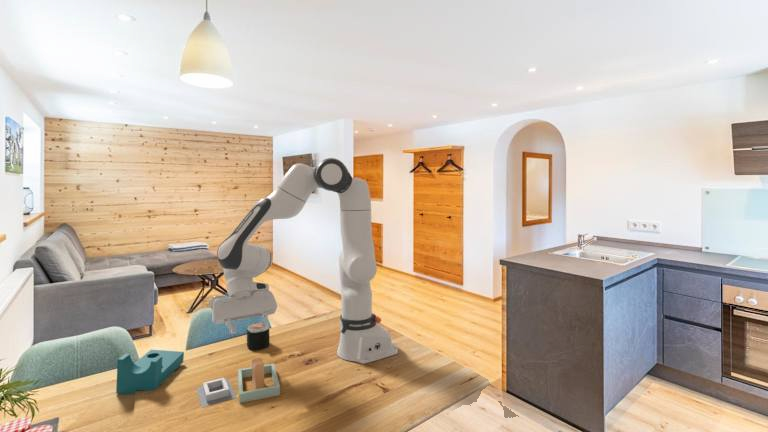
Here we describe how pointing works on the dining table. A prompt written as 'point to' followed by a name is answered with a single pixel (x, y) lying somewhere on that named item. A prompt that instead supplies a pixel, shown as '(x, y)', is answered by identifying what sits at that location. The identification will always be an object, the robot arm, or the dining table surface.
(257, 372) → the orange rectangular block
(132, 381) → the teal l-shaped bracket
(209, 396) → the grey socket base plate
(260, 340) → the sushi
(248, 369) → the tray
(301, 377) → the dining table surface
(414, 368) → the dining table surface
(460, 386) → the dining table surface
